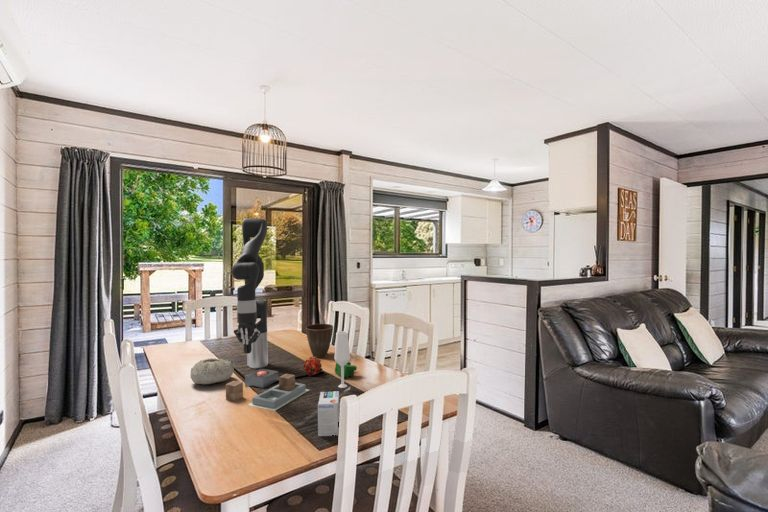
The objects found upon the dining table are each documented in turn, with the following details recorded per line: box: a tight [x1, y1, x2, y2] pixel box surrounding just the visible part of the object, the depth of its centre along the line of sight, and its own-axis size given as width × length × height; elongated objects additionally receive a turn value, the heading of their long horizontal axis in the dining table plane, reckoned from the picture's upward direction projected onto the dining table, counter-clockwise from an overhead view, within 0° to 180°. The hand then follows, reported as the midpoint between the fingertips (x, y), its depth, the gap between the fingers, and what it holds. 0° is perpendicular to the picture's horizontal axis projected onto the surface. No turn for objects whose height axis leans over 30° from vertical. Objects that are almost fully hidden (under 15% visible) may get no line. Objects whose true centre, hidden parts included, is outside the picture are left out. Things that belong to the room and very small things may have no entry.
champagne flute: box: [333, 330, 351, 392], centre depth 168 cm, size 7×7×24 cm
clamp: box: [334, 361, 358, 379], centre depth 186 cm, size 12×6×9 cm, turn 24°
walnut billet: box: [225, 380, 244, 402], centre depth 157 cm, size 4×4×7 cm
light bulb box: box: [317, 390, 340, 437], centre depth 133 cm, size 11×7×11 cm, turn 5°
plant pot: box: [305, 323, 334, 358], centre depth 217 cm, size 15×15×16 cm
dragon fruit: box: [303, 356, 324, 377], centre depth 187 cm, size 8×8×12 cm
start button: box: [257, 371, 267, 376], centre depth 174 cm, size 4×4×4 cm
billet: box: [278, 373, 296, 391], centre depth 161 cm, size 4×4×7 cm
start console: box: [244, 368, 280, 389], centre depth 174 cm, size 10×10×5 cm
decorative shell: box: [190, 357, 235, 386], centre depth 178 cm, size 18×18×10 cm
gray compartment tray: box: [247, 382, 310, 412], centre depth 157 cm, size 13×22×4 cm, turn 156°
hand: (247, 353), depth 163 cm, fingers closed
